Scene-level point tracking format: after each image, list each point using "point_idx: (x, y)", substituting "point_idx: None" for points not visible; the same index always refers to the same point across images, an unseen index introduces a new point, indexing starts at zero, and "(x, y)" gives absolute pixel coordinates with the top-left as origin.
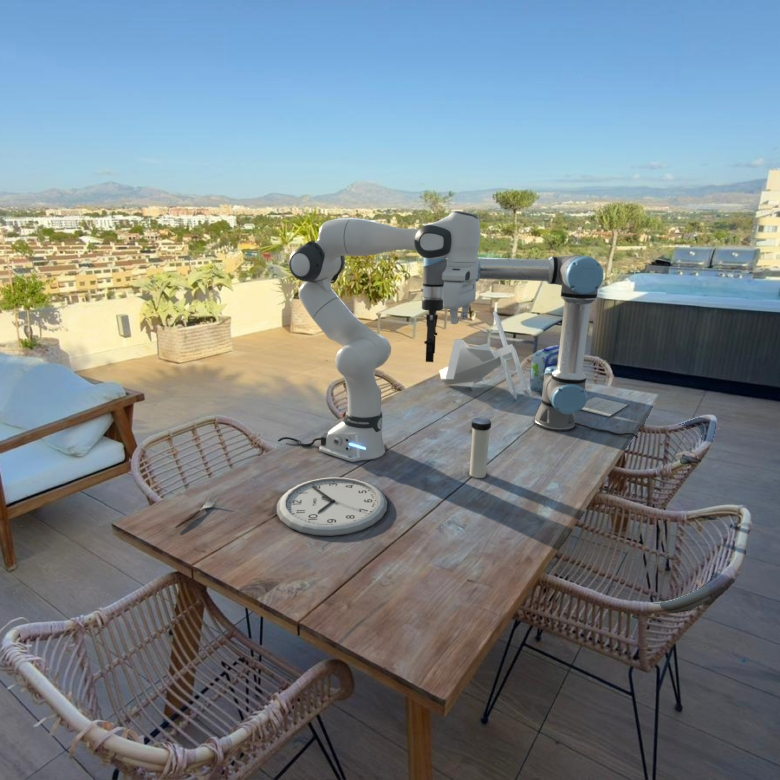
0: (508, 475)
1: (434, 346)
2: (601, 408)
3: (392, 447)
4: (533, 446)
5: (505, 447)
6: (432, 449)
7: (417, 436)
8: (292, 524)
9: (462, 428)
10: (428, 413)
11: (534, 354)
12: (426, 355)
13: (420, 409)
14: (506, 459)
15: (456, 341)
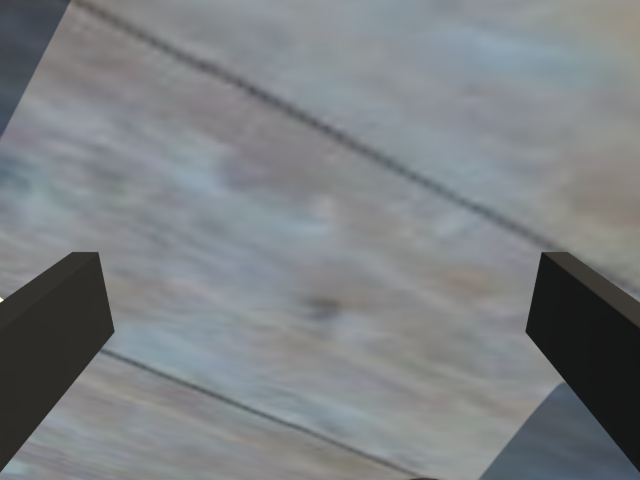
0: None
1: (574, 382)
2: None
3: (91, 13)
4: (237, 454)
5: (210, 391)
6: (124, 177)
7: (234, 112)
8: None
9: (349, 277)
10: (512, 143)
11: None
12: (20, 298)
13: (567, 103)
14: (123, 387)
15: None
